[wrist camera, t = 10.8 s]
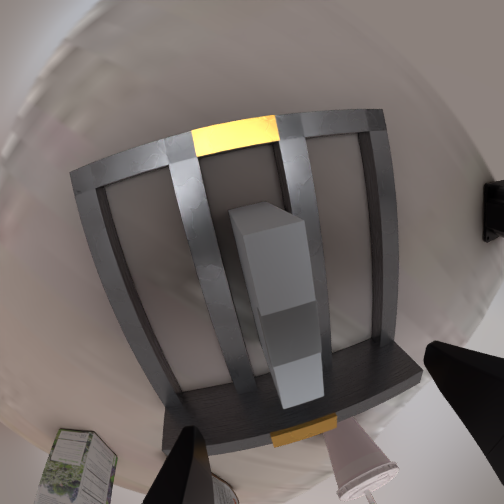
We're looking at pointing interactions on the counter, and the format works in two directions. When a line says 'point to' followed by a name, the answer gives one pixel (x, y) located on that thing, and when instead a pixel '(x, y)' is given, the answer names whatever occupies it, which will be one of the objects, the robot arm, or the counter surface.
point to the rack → (218, 292)
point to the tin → (223, 492)
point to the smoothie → (357, 461)
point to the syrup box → (77, 470)
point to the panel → (281, 297)
